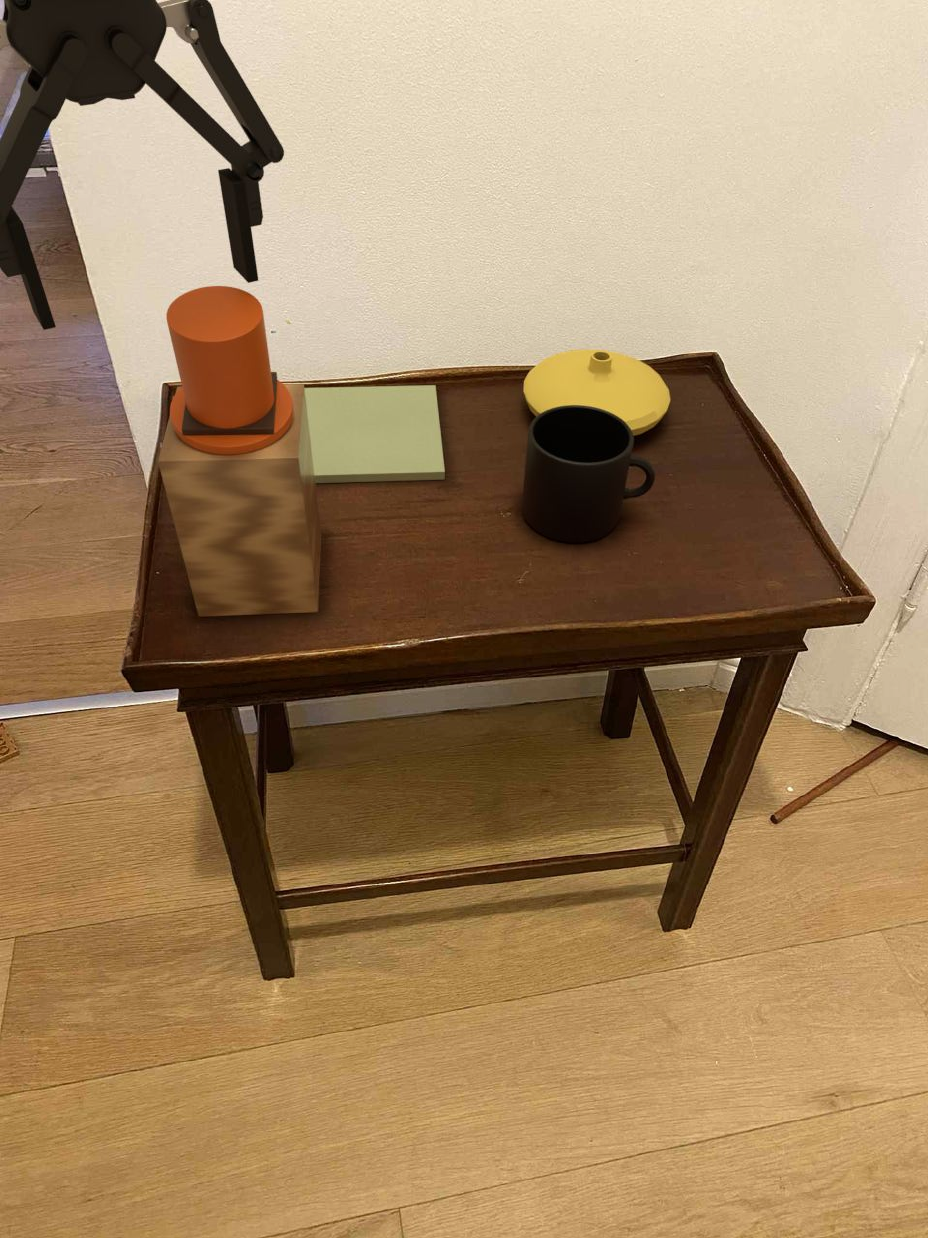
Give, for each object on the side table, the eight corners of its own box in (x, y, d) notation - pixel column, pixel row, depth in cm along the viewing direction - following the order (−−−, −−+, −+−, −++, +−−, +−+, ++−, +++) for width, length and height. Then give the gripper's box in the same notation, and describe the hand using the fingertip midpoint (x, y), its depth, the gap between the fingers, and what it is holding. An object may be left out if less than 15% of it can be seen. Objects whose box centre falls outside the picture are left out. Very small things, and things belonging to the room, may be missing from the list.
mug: (647, 551, 84) (665, 471, 78) (518, 539, 85) (525, 459, 78) (644, 489, 91) (661, 411, 84) (524, 478, 91) (531, 400, 85)
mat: (262, 484, 90) (260, 476, 89) (272, 396, 101) (271, 388, 100) (444, 479, 91) (444, 471, 90) (435, 392, 102) (435, 384, 101)
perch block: (198, 617, 77) (157, 461, 65) (211, 539, 84) (177, 386, 72) (318, 612, 78) (298, 457, 66) (321, 535, 85) (304, 383, 73)
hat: (165, 456, 66) (137, 353, 59) (178, 376, 71) (154, 274, 64) (291, 454, 67) (279, 353, 60) (295, 375, 72) (284, 275, 65)
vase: (679, 455, 95) (693, 396, 90) (529, 457, 94) (534, 398, 89) (649, 375, 106) (660, 318, 101) (514, 376, 105) (518, 319, 100)
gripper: (-224, -80, 39) (-39, 368, 54) (315, -112, 48) (343, 277, 63) (-236, -107, 43) (-62, 314, 58) (260, -131, 52) (298, 237, 68)
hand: (149, 296), depth 61 cm, fingers open, 13 cm apart
